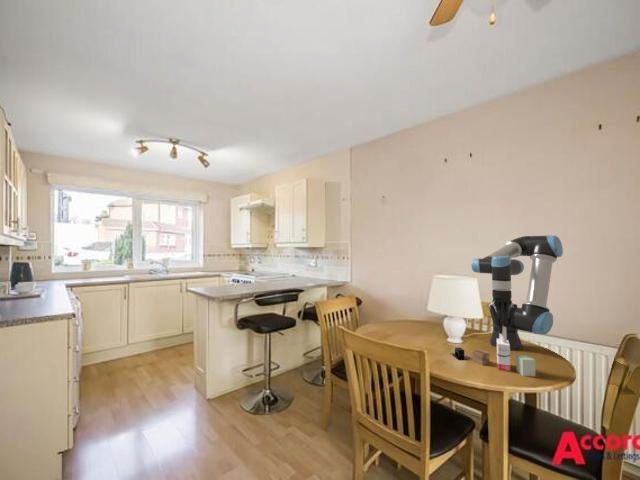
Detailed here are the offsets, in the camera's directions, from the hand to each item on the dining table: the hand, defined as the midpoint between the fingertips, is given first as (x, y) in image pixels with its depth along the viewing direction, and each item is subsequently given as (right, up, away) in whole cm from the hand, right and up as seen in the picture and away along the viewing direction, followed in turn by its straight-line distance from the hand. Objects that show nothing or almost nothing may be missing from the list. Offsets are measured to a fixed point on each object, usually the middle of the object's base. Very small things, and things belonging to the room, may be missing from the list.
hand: (503, 340), depth 132 cm
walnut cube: (-7, -13, +6) cm, 15 cm away
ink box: (0, -13, 0) cm, 13 cm away
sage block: (+6, -12, -7) cm, 15 cm away
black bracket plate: (-14, -14, +13) cm, 23 cm away
